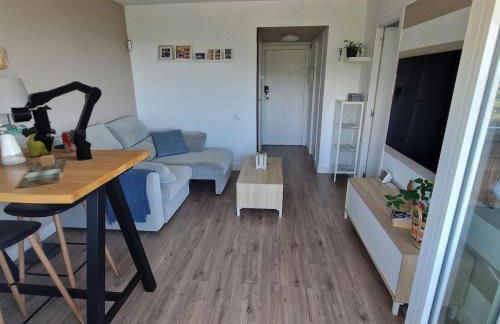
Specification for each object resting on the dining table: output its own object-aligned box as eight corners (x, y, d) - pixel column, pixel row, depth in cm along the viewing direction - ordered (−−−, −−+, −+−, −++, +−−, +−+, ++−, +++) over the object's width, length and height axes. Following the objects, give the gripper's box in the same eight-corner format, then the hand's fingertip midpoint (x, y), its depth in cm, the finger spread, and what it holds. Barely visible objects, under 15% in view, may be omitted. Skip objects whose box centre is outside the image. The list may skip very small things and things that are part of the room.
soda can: (68, 153, 157) (64, 133, 154) (62, 152, 161) (58, 132, 158) (81, 151, 163) (77, 131, 160) (75, 149, 167) (71, 130, 163)
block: (55, 162, 131) (53, 154, 130) (53, 165, 128) (51, 156, 126) (43, 164, 129) (41, 155, 128) (41, 166, 126) (39, 158, 124)
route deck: (66, 163, 139) (64, 154, 138) (58, 182, 112) (55, 172, 111) (38, 166, 134) (35, 158, 133) (21, 188, 107) (18, 177, 105)
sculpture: (25, 151, 157) (30, 128, 156) (51, 156, 164) (57, 134, 164) (21, 156, 145) (27, 132, 144) (50, 161, 152) (56, 138, 151)
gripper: (25, 119, 134) (33, 150, 139) (15, 124, 118) (24, 159, 123) (52, 117, 139) (59, 147, 143) (46, 122, 123) (54, 155, 128)
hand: (49, 151), depth 134 cm, fingers closed
